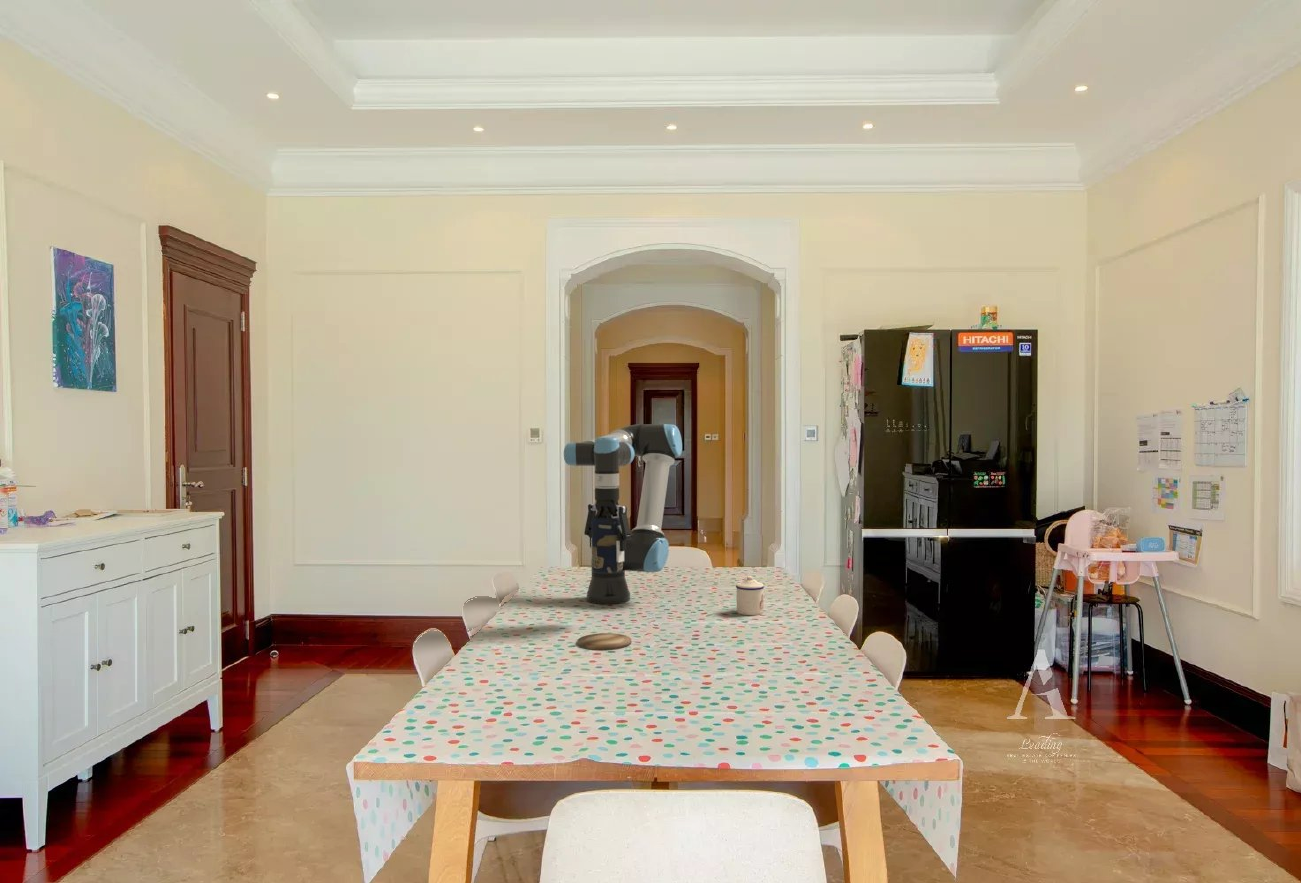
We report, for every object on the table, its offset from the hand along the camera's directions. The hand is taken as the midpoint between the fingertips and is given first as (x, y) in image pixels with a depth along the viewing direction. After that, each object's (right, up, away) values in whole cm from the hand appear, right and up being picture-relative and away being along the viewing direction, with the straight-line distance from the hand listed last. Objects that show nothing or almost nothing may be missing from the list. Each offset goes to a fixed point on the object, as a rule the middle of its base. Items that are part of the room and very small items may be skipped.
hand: (607, 560), depth 257 cm
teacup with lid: (+45, -19, +15) cm, 51 cm away
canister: (0, -4, 0) cm, 4 cm away
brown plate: (0, -20, -22) cm, 30 cm away
